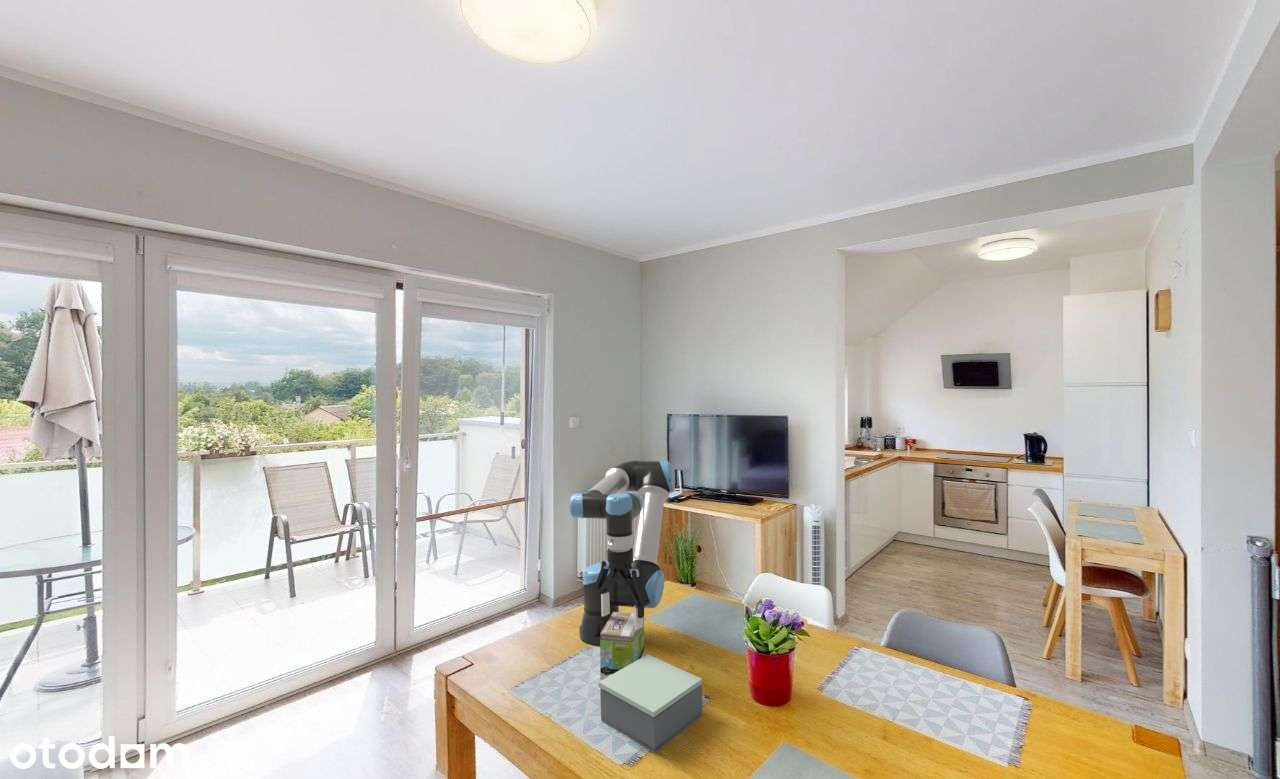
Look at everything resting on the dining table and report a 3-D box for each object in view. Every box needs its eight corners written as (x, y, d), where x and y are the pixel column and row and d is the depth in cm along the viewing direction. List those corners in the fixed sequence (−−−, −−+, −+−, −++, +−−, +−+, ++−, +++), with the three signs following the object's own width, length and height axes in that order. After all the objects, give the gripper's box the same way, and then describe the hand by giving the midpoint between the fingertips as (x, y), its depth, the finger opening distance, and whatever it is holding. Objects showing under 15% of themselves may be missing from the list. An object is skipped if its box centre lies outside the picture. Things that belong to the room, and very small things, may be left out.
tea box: (634, 689, 144) (633, 636, 144) (599, 686, 146) (598, 633, 146) (645, 660, 159) (644, 612, 159) (613, 658, 161) (611, 610, 161)
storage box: (649, 688, 145) (648, 659, 144) (702, 715, 132) (701, 684, 132) (601, 720, 131) (600, 688, 131) (655, 753, 119) (654, 718, 119)
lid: (647, 658, 145) (647, 654, 145) (702, 683, 132) (702, 678, 132) (598, 686, 131) (598, 682, 131) (653, 717, 119) (653, 712, 119)
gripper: (581, 543, 158) (583, 613, 158) (642, 560, 141) (644, 639, 141) (600, 537, 163) (601, 605, 164) (661, 553, 146) (662, 629, 147)
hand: (621, 621), depth 152 cm, fingers open, 13 cm apart
